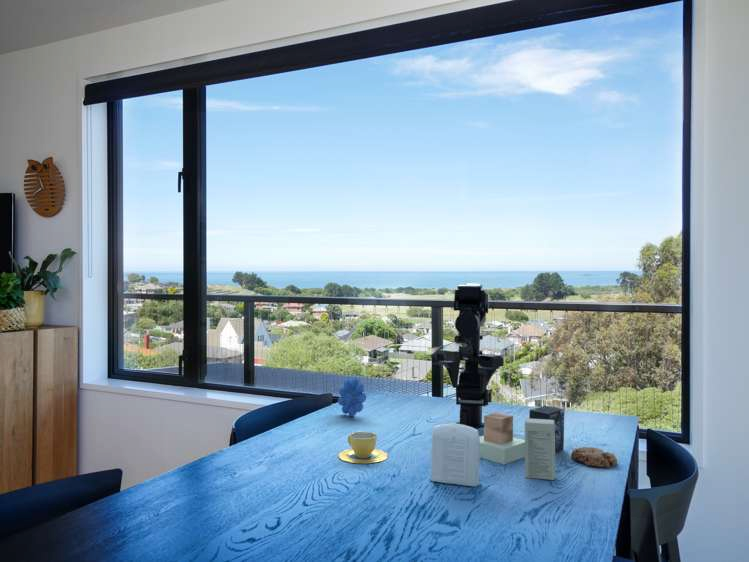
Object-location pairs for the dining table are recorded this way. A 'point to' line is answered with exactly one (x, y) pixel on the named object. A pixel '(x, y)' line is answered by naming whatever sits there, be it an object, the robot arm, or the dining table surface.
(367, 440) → the cup
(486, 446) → the sage base block
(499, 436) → the terracotta block
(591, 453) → the cookie
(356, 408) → the grapes
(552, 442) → the skincare box
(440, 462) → the white gravestone
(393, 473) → the dining table surface
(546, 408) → the box
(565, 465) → the dining table surface
